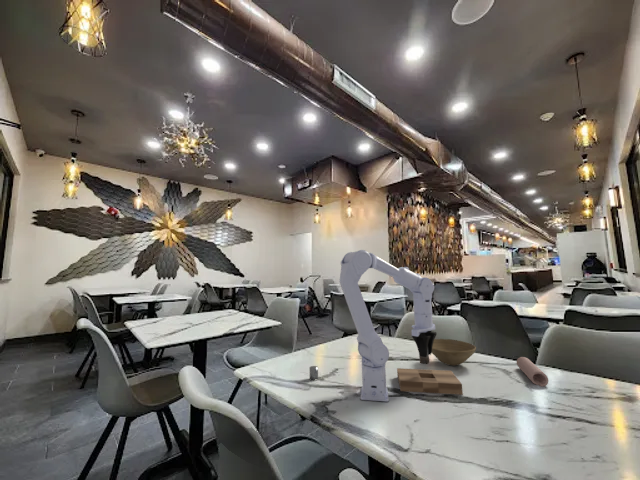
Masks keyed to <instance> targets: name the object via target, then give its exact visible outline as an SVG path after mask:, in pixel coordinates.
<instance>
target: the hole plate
mask: <svg viewBox="0 0 640 480" xmlns="http://www.w3.org/2000/svg"><path fill="white" fill-rule="evenodd" d="M396 373H397V381H398V386H399V390H400V392H407V393H408V392H410V393H411V392H412V393H427V394H428V393H429V394H442V395H443V394H445V395H463V383H461V381H460V379H458V377H457V376H456V375H455V374H454V372H453V371H452V370H445V369H444V370H443V369H424V368H423V369H421V368H420V369H419V368H401V367H400V368H399V367H398V368H396Z"/></svg>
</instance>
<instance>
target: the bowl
mask: <svg viewBox="0 0 640 480" xmlns="http://www.w3.org/2000/svg"><path fill="white" fill-rule="evenodd" d="M476 350H477V347H476V345H474V344H471V343H470V342H466V341H462V340H458V339H450V338H445V339H444V338H435V339H434V342H433V347H432V353H431V355H433V356H434V357H435V358H437V359H436V360H438V361H440V362H441V363H443V364H444V365H448V366H453V367H455V366H460V365H462V364H463V363H465V362H466V361H467V360H468V359H470V357H472V356H473V355H474V353H476Z"/></svg>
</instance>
